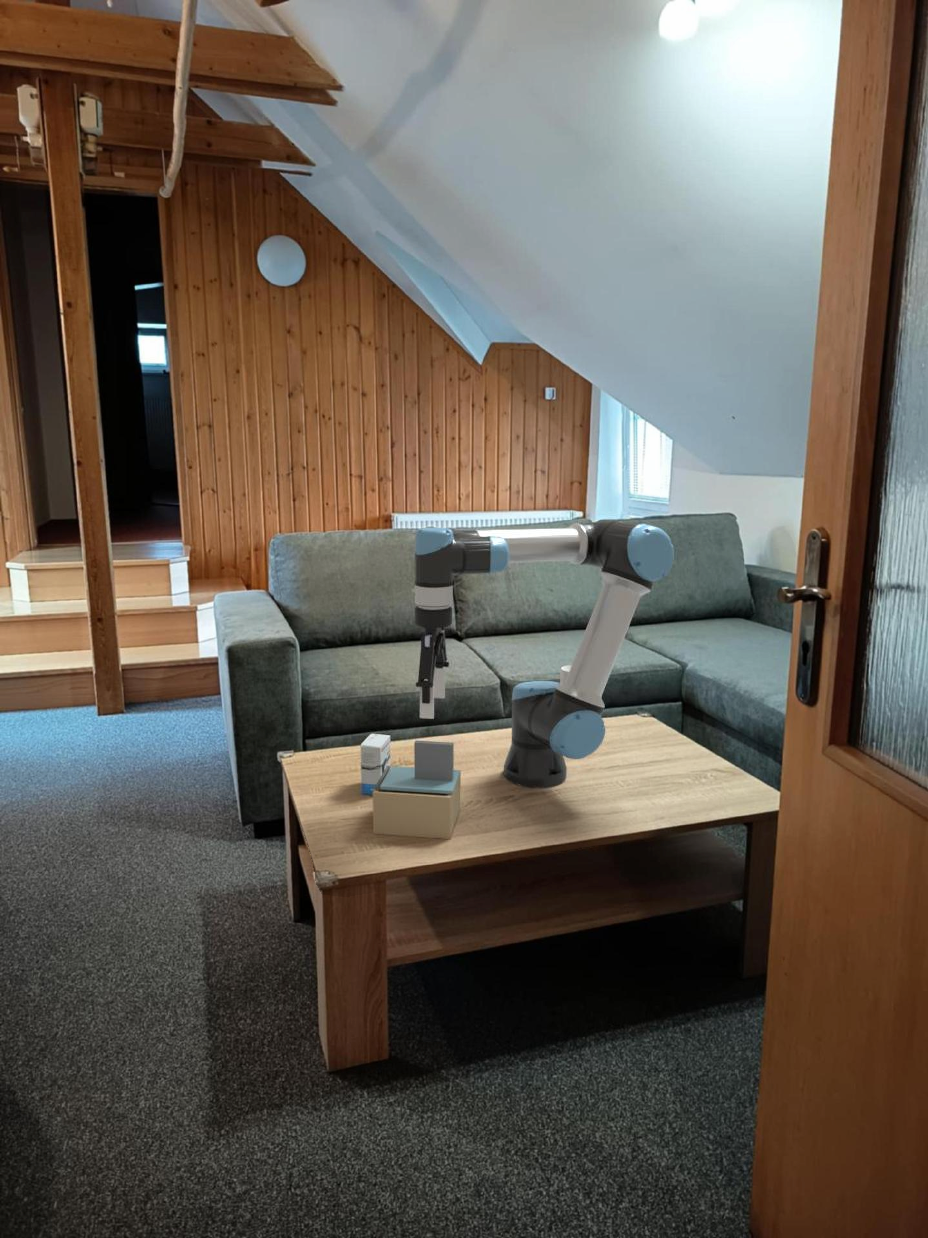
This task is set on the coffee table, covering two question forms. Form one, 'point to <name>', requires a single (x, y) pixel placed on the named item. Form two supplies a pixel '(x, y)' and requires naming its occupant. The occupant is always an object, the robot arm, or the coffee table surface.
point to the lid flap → (424, 770)
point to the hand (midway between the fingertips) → (432, 707)
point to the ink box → (374, 760)
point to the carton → (416, 813)
